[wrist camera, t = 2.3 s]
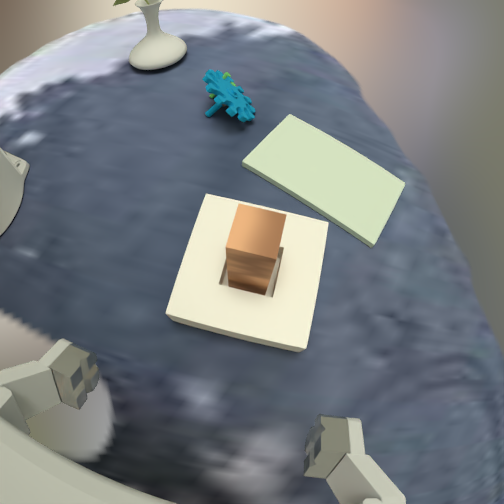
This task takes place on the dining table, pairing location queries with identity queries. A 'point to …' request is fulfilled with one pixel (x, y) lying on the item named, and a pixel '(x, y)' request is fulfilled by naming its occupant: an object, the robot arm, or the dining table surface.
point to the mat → (327, 177)
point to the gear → (227, 96)
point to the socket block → (243, 302)
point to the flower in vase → (154, 41)
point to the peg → (253, 248)
